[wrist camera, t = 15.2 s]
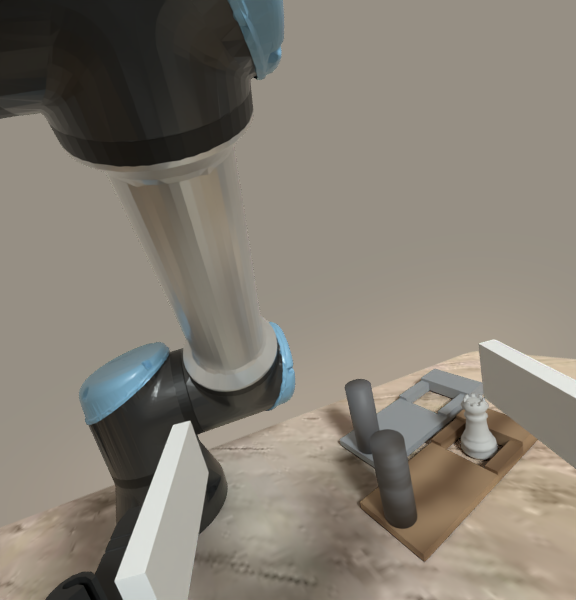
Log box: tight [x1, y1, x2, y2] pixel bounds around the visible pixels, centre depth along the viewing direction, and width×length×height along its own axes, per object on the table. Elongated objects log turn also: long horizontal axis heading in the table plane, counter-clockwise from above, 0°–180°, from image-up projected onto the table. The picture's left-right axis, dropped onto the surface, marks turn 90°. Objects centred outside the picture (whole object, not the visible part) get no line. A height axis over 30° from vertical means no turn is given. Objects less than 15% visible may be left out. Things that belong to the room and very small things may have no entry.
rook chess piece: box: [461, 393, 498, 460], centre depth 46 cm, size 4×4×8 cm
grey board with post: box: [340, 369, 484, 468], centre depth 55 cm, size 9×24×11 cm, turn 123°
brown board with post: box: [360, 409, 538, 562], centre depth 43 cm, size 9×24×11 cm, turn 123°
